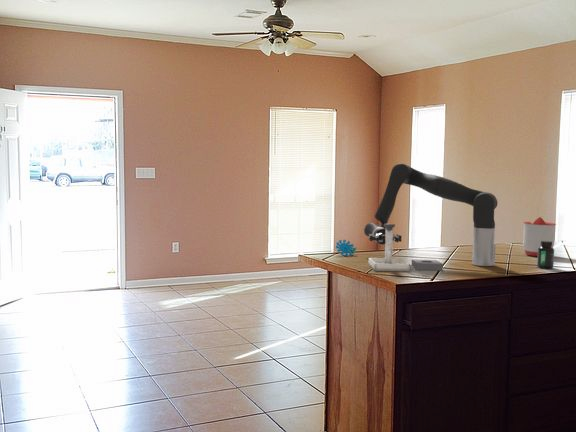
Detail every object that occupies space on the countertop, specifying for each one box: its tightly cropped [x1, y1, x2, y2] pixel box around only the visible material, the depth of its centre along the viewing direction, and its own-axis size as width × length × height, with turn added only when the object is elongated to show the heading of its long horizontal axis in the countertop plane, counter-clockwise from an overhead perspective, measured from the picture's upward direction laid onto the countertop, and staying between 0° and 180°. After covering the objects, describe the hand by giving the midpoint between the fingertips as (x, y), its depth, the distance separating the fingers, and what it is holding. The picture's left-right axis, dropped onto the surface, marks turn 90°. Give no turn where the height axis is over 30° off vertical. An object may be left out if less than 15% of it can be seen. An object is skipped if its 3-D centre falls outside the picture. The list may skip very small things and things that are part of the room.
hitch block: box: [410, 258, 444, 272], centre depth 271 cm, size 11×11×3 cm
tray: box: [367, 257, 411, 272], centre depth 270 cm, size 15×17×3 cm
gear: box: [335, 239, 358, 257], centre depth 306 cm, size 11×6×10 cm
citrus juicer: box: [522, 216, 557, 257], centre depth 319 cm, size 16×17×20 cm
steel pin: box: [384, 223, 396, 264], centre depth 270 cm, size 5×5×18 cm
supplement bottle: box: [536, 241, 555, 270], centre depth 279 cm, size 7×7×12 cm
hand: (388, 239), depth 272 cm, fingers open, 8 cm apart
